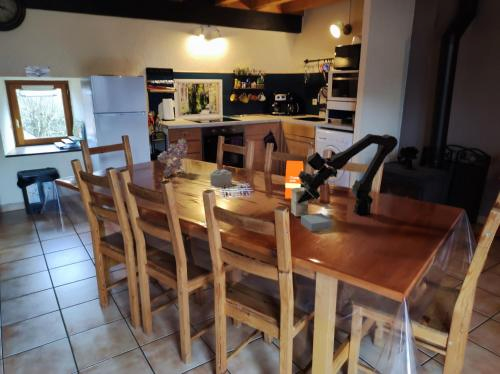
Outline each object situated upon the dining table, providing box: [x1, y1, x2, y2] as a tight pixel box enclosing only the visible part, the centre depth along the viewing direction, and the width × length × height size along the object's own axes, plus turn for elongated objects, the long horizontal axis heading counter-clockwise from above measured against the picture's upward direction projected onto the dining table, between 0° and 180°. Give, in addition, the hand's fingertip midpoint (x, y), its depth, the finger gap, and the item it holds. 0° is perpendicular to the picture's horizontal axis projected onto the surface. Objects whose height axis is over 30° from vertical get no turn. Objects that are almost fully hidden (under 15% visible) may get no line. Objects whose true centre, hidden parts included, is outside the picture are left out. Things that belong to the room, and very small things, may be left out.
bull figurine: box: [308, 190, 322, 205], centre depth 191 cm, size 4×13×8 cm, turn 15°
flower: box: [157, 138, 188, 177], centre depth 252 cm, size 20×22×25 cm
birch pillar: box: [290, 187, 309, 217], centre depth 172 cm, size 6×6×12 cm
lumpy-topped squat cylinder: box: [209, 168, 233, 187], centre depth 227 cm, size 10×13×9 cm
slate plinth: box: [300, 212, 333, 233], centre depth 160 cm, size 10×10×4 cm
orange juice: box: [284, 160, 304, 200], centre depth 199 cm, size 8×9×20 cm
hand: (296, 200), depth 172 cm, fingers closed on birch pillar, 7 cm apart
